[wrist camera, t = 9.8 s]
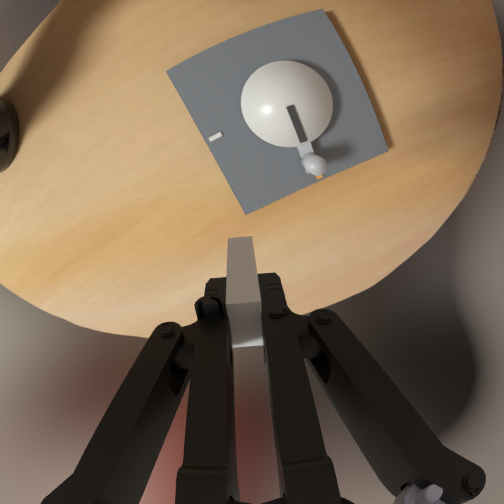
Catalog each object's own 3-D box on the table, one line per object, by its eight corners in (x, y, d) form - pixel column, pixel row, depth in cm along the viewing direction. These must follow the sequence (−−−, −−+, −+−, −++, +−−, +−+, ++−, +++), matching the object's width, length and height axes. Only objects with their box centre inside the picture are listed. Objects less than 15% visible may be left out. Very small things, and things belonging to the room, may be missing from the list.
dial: (226, 80, 30) (224, 73, 26) (310, 53, 29) (320, 44, 24) (272, 184, 37) (276, 194, 33) (349, 156, 36) (363, 162, 31)
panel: (169, 73, 31) (165, 71, 29) (319, 13, 27) (323, 8, 25) (245, 210, 41) (245, 215, 39) (382, 149, 37) (389, 151, 35)
